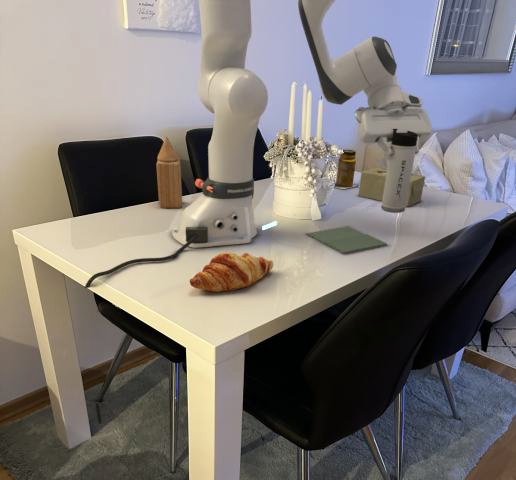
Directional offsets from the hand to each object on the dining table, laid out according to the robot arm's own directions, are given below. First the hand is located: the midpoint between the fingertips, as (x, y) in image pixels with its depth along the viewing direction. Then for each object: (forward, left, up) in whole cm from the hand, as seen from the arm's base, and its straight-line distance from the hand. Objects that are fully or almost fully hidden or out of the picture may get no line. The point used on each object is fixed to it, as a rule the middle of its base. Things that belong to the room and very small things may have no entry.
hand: (403, 154), depth 128 cm
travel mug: (0, +1, -15) cm, 15 cm away
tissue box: (+24, +27, -21) cm, 42 cm away
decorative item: (-45, +49, -21) cm, 69 cm away
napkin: (-15, +1, -21) cm, 25 cm away
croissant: (-54, -10, -21) cm, 59 cm away
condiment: (+20, +47, -21) cm, 55 cm away
